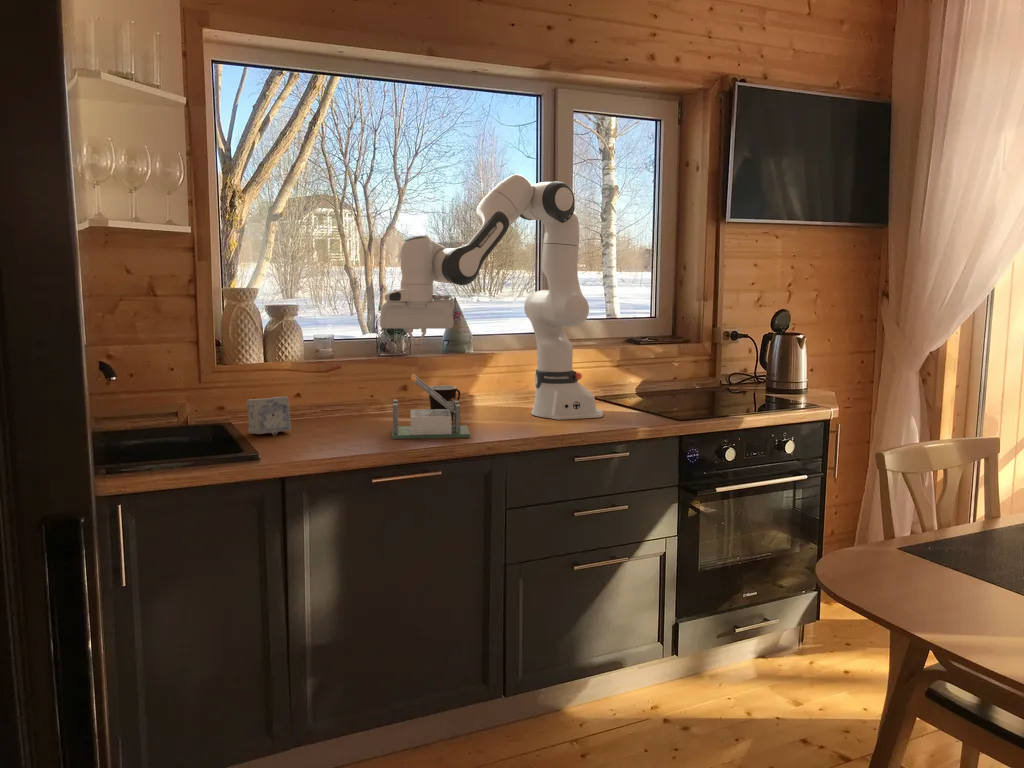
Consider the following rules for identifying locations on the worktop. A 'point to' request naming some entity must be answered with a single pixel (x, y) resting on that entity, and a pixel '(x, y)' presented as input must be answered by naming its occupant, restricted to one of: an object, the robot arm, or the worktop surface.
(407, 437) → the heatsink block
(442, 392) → the coffee mug
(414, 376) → the silver flat bar
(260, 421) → the incense holder
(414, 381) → the strap
